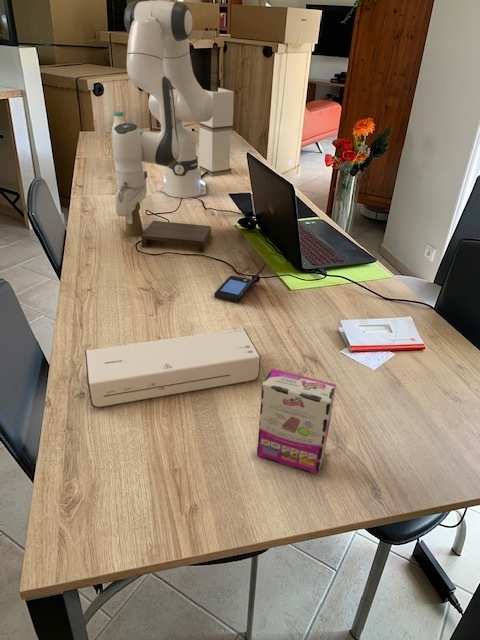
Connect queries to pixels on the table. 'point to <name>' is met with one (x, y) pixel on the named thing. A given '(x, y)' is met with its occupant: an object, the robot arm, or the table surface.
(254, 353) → the laminator
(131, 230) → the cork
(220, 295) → the handheld console
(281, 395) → the candy bar box
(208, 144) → the white square pillar
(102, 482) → the table surface
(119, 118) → the milk bottle
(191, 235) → the desk riser
